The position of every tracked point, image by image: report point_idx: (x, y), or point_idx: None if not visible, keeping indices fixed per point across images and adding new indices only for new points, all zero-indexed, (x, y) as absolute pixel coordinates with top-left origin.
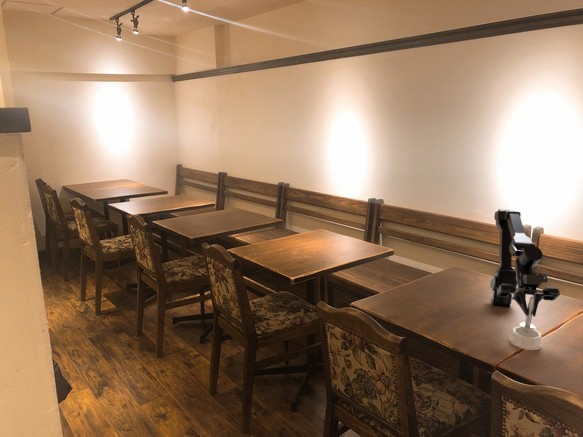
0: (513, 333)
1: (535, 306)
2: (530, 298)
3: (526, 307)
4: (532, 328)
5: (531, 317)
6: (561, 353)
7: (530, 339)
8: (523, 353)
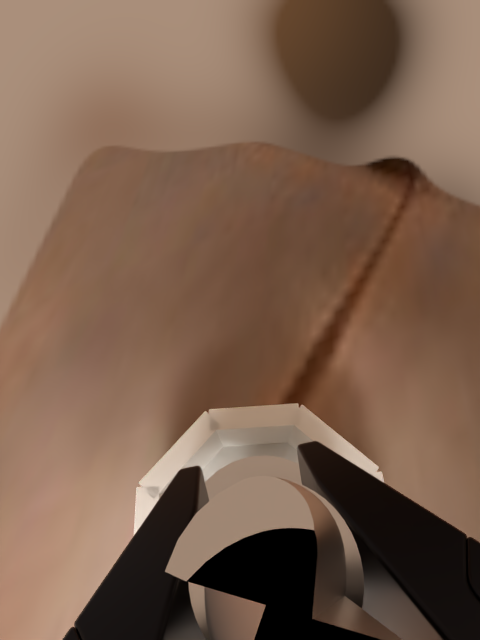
0: None
1: (140, 592)
2: (348, 613)
3: (362, 512)
4: (218, 481)
5: (228, 550)
6: (33, 456)
7: (239, 411)
8: (282, 355)
